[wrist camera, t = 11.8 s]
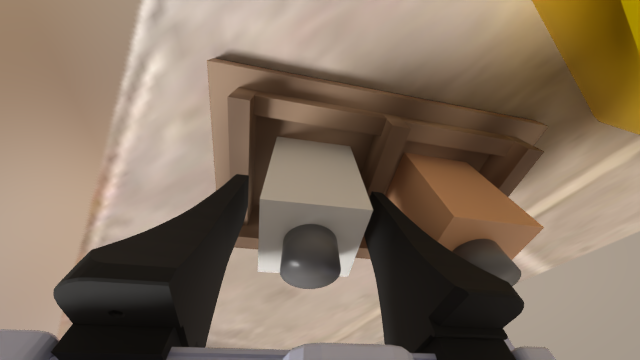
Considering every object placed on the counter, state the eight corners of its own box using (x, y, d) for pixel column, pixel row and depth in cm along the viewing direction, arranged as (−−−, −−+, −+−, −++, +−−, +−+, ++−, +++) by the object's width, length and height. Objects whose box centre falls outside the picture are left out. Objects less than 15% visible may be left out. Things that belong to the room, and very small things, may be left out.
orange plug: (466, 162, 15) (574, 252, 9) (435, 212, 18) (504, 311, 12) (404, 152, 15) (474, 242, 9) (380, 205, 17) (422, 306, 11)
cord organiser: (534, 120, 15) (608, 150, 11) (451, 237, 21) (482, 281, 17) (213, 58, 12) (173, 71, 9) (222, 213, 18) (200, 260, 14)
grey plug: (350, 146, 14) (382, 236, 8) (335, 202, 17) (352, 304, 11) (277, 136, 14) (252, 225, 8) (273, 196, 16) (252, 300, 10)
